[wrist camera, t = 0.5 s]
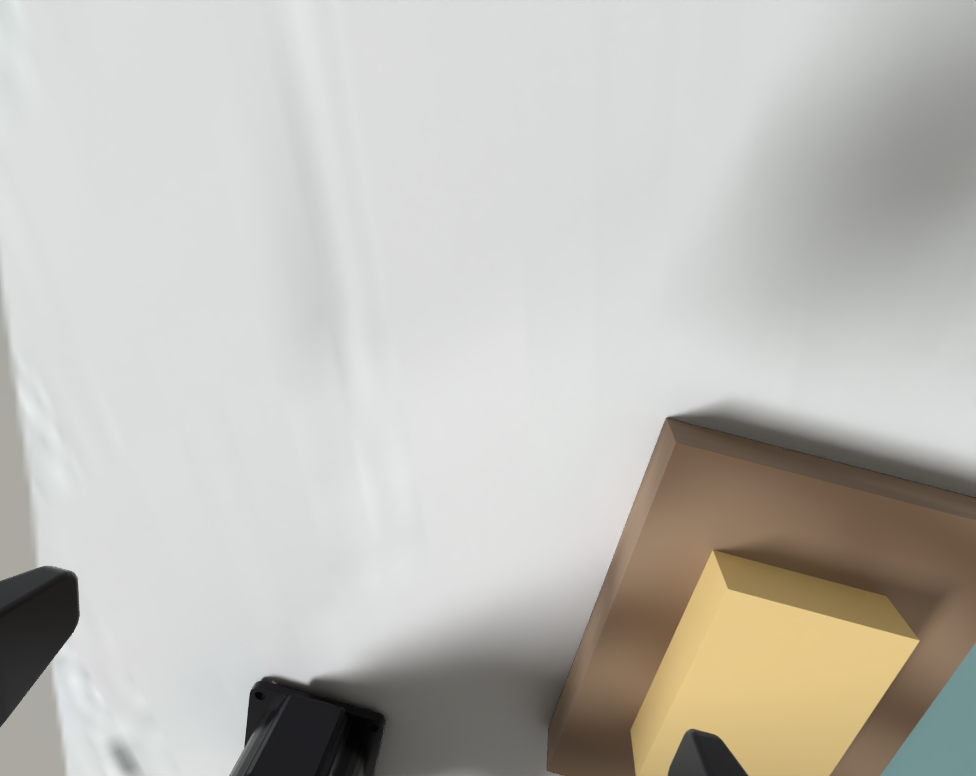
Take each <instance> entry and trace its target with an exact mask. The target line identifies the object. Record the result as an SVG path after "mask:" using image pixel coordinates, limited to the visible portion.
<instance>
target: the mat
mask: <svg viewBox="0 0 976 776" xmlns="http://www.w3.org/2000/svg"><path fill="white" fill-rule="evenodd" d="M880 776H976V643H975V644H974V646H973V647H972V648H971V650H970V651H969V653H968V654H967V655H966V657H965V658H964V660H963V661H962V662H961V664H960V665H959V667H958V668H957V669H956V671H955V672H954V673H953V675H952V676H951V678H950V679H949V680H948V682H947V683H946V685H945V686H944V687H943V689H942V690H941V692H940V693H939V694H938V696H937V697H936V699H935V700H934V701H933V703H932V704H931V705H930V707H929V708H928V710H927V711H926V712H925V714H924V715H923V717H922V718H921V719H920V721H919V722H918V724H917V725H916V726H915V728H914V729H913V731H912V732H911V733H910V735H909V736H908V737H907V739H906V740H905V742H904V743H903V744H902V746H901V747H900V749H899V750H898V751H897V753H896V754H895V756H894V757H893V758H892V760H891V761H890V763H889V764H888V765H887V767H886V768H885V769H884V771H883V772H882V774H881V775H880Z"/></svg>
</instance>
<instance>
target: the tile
mask: <svg viewBox="0 0 976 776" xmlns="http://www.w3.org/2000/svg"><path fill="white" fill-rule="evenodd" d="M919 641H920V640H919V639H918V637H917V636H916V635H915V633H914V632H913V631H912V629H911V628H910V627H909V626H908V624H907V623H906V622H905V620H904V619H903V618H902V616H901V615H900V614H899V612H898V611H897V610H896V608H895V607H894V606H893V604H892V603H891V602H890V600H889V599H888V598H887V596H884V595H880V594H876V593H873V592H869V591H865V590H861V589H858V588H854V587H850V586H846V585H843V584H839V583H835V582H831V581H827V580H824V579H820V578H816V577H812V576H809V575H805V574H801V573H797V572H794V571H790V570H786V569H782V568H779V567H775V566H771V565H767V564H764V563H760V562H756V561H752V560H749V559H745V558H741V557H737V556H734V555H730V554H726V553H722V552H719V551H715V550H712V553H711V555H710V557H709V559H708V561H707V563H706V566H705V568H704V570H703V572H702V574H701V577H700V579H699V581H698V583H697V585H696V588H695V590H694V592H693V594H692V596H691V599H690V601H689V603H688V605H687V607H686V609H685V612H684V614H683V616H682V618H681V620H680V623H679V625H678V627H677V629H676V631H675V634H674V636H673V638H672V640H671V642H670V645H669V647H668V649H667V651H666V653H665V655H664V658H663V660H662V662H661V664H660V666H659V669H658V671H657V673H656V675H655V677H654V680H653V682H652V684H651V686H650V688H649V691H648V693H647V695H646V697H645V699H644V701H643V704H642V706H641V708H640V710H639V712H638V715H637V717H636V719H635V721H634V723H633V726H632V728H631V730H630V731H631V739H632V748H633V757H634V765H635V774H636V776H668V771H669V767H670V765H671V762H672V760H673V758H674V756H675V754H676V751H677V749H678V747H679V745H680V742H681V740H682V738H683V736H684V734H685V732H686V731H687V730H689V729H696V730H700V731H704V732H708V733H712V734H715V735H717V736H718V737H720V738H721V739H722V740H723V742H724V743H725V744H726V746H727V747H728V748H729V750H730V751H731V752H732V754H733V755H734V756H735V758H736V759H737V760H738V762H739V763H740V764H741V766H742V767H743V769H744V770H745V771H746V773H747V774H748V775H749V776H830V774H831V773H832V771H833V770H834V768H835V767H836V765H837V764H838V762H839V761H840V759H841V758H842V756H843V755H844V753H845V752H846V750H847V749H848V747H849V746H850V744H851V743H852V741H853V740H854V738H855V737H856V735H857V734H858V733H859V731H860V730H861V728H862V727H863V725H864V724H865V722H866V721H867V719H868V718H869V716H870V715H871V713H872V712H873V710H874V709H875V707H876V706H877V704H878V703H879V701H880V700H881V698H882V697H883V695H884V694H885V692H886V691H887V689H888V688H889V686H890V685H891V683H892V682H893V680H894V679H895V677H896V676H897V674H898V673H899V671H900V670H901V668H902V667H903V665H904V664H905V662H906V661H907V659H908V658H909V656H910V655H911V653H912V652H913V650H914V649H915V647H916V646H917V644H918V643H919Z"/></svg>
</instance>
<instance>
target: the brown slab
mask: <svg viewBox="0 0 976 776" xmlns="http://www.w3.org/2000/svg"><path fill="white" fill-rule="evenodd" d="M712 550H715V551H719V552H722V553H726V554H730V555H734V556H737V557H741V558H745V559H749V560H752V561H756V562H760V563H764V564H767V565H771V566H775V567H779V568H782V569H786V570H790V571H794V572H797V573H801V574H805V575H809V576H812V577H816V578H820V579H824V580H827V581H831V582H835V583H839V584H843V585H846V586H850V587H854V588H858V589H861V590H865V591H869V592H873V593H876V594H880V595H884V596H887V598H888V599H889V600H890V602H891V603H892V604H893V606H894V607H895V608H896V610H897V611H898V612H899V614H900V615H901V616H902V618H903V619H904V620H905V622H906V623H907V624H908V626H909V627H910V628H911V629H912V631H913V632H914V633H915V635H916V636H917V637H918V639H919V640H920V641H919V643H918V644H917V646H916V647H915V649H914V650H913V652H912V653H911V655H910V656H909V658H908V659H907V661H906V662H905V664H904V665H903V667H902V668H901V670H900V671H899V673H898V674H897V676H896V677H895V679H894V680H893V682H892V683H891V685H890V686H889V688H888V689H887V691H886V692H885V694H884V695H883V697H882V698H881V700H880V701H879V703H878V704H877V706H876V707H875V709H874V710H873V712H872V713H871V715H870V716H869V718H868V719H867V721H866V722H865V724H864V725H863V727H862V728H861V730H860V731H859V733H858V734H857V735H856V737H855V738H854V740H853V741H852V743H851V744H850V746H849V747H848V749H847V750H846V752H845V753H844V755H843V756H842V758H841V759H840V761H839V762H838V764H837V765H836V767H835V768H834V770H833V771H832V773H831V774H830V776H880V775H881V774H882V772H883V771H884V769H885V768H886V767H887V765H888V764H889V763H890V761H891V760H892V758H893V757H894V756H895V754H896V753H897V751H898V750H899V749H900V747H901V746H902V744H903V743H904V742H905V740H906V739H907V737H908V736H909V735H910V733H911V732H912V731H913V729H914V728H915V726H916V725H917V724H918V722H919V721H920V719H921V718H922V717H923V715H924V714H925V712H926V711H927V710H928V708H929V707H930V705H931V704H932V703H933V701H934V700H935V699H936V697H937V696H938V694H939V693H940V692H941V690H942V689H943V687H944V686H945V685H946V683H947V682H948V680H949V679H950V678H951V676H952V675H953V673H954V672H955V671H956V669H957V668H958V667H959V665H960V664H961V662H962V661H963V660H964V658H965V657H966V655H967V654H968V653H969V651H970V650H971V648H972V647H973V646H974V644H975V643H976V498H973V497H970V496H966V495H962V494H958V493H954V492H950V491H946V490H943V489H939V488H935V487H931V486H927V485H923V484H919V483H916V482H912V481H908V480H904V479H900V478H896V477H892V476H889V475H885V474H881V473H877V472H873V471H869V470H865V469H862V468H858V467H854V466H850V465H846V464H842V463H838V462H835V461H831V460H827V459H823V458H819V457H815V456H812V455H808V454H804V453H800V452H796V451H792V450H788V449H785V448H781V447H777V446H773V445H769V444H765V443H761V442H758V441H754V440H750V439H746V438H742V437H738V436H734V435H731V434H727V433H723V432H719V431H715V430H711V429H707V428H704V427H700V426H696V425H692V424H688V423H684V422H680V421H677V420H673V419H669V418H666V419H665V422H664V425H663V427H662V430H661V433H660V435H659V438H658V440H657V443H656V446H655V448H654V451H653V454H652V456H651V459H650V462H649V464H648V467H647V469H646V472H645V475H644V477H643V480H642V483H641V485H640V488H639V491H638V493H637V496H636V498H635V501H634V504H633V506H632V509H631V512H630V514H629V517H628V519H627V522H626V525H625V527H624V530H623V533H622V535H621V538H620V541H619V543H618V546H617V548H616V551H615V554H614V556H613V559H612V562H611V564H610V567H609V570H608V572H607V575H606V577H605V580H604V583H603V585H602V588H601V591H600V593H599V596H598V598H597V601H596V604H595V606H594V609H593V612H592V614H591V617H590V620H589V622H588V625H587V627H586V630H585V633H584V635H583V638H582V641H581V643H580V646H579V649H578V651H577V654H576V656H575V659H574V662H573V664H572V667H571V670H570V672H569V675H568V677H567V680H566V683H565V685H564V688H563V691H562V693H561V696H560V699H559V701H558V704H557V706H556V709H555V712H554V714H553V717H552V720H551V722H550V725H549V728H548V750H547V771H549V772H553V773H557V774H560V775H564V776H636V774H635V765H634V757H633V748H632V739H631V731H630V730H631V728H632V726H633V723H634V721H635V719H636V717H637V715H638V712H639V710H640V708H641V706H642V704H643V701H644V699H645V697H646V695H647V693H648V691H649V688H650V686H651V684H652V682H653V680H654V677H655V675H656V673H657V671H658V669H659V666H660V664H661V662H662V660H663V658H664V655H665V653H666V651H667V649H668V647H669V645H670V642H671V640H672V638H673V636H674V634H675V631H676V629H677V627H678V625H679V623H680V620H681V618H682V616H683V614H684V612H685V609H686V607H687V605H688V603H689V601H690V599H691V596H692V594H693V592H694V590H695V588H696V585H697V583H698V581H699V579H700V577H701V574H702V572H703V570H704V568H705V566H706V563H707V561H708V559H709V557H710V555H711V553H712Z"/></svg>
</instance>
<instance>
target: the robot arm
mask: <svg viewBox="0 0 976 776" xmlns="http://www.w3.org/2000/svg"><path fill="white" fill-rule="evenodd" d="M79 615H80V611H79V591H78V578H77V576H76V575H75V573H74V572H72V571H69V570H65V569H61V568H57V567H53V566H43V567H39V568H36V569H33V570H30V571H28V572H25V573H22V574H19V575H16V576H13V577H11V578H8V579H5V580H2V581H0V727H1V726H2V724H3V723H4V722H5V721H6V719H7V718H8V717H9V716H10V714H11V713H12V712H13V710H14V709H15V708H16V707H17V705H18V704H19V703H20V701H21V700H22V699H23V697H24V696H25V695H26V693H27V692H28V691H29V690H30V688H31V687H32V686H33V684H34V683H35V682H36V680H37V679H38V678H39V677H40V675H41V674H42V673H43V671H44V670H45V669H46V667H47V666H48V665H49V663H50V662H51V661H52V660H53V658H54V657H55V656H56V654H57V653H58V652H59V650H60V649H61V648H62V646H63V645H64V644H65V643H66V641H67V640H68V639H69V637H70V636H71V635H72V633H73V632H74V630H75V628H76V626H77V624H78V620H79ZM385 725H386V720H385V718H384V717H383V716H382V715H381V714H379V713H376V712H372V711H369V710H365V709H361V708H358V707H354V706H351V705H347V704H344V703H340V702H337V701H333V700H330V699H326V698H322V697H319V696H315V695H312V694H308V693H305V692H301V691H298V690H294V689H291V688H287V687H283V686H280V685H276V684H273V683H269V682H266V681H258V682H256V683H255V685H254V686H253V688H252V690H251V692H250V697H249V707H248V717H247V727H246V737H245V747H244V750H243V752H242V754H241V755H240V757H239V759H238V761H237V763H236V765H235V766H234V768H233V770H232V772H231V774H230V775H229V776H374V773H375V769H376V765H377V760H378V756H379V752H380V747H381V743H382V738H383V734H384V730H385ZM668 776H749V775H748V774H747V773H746V771H745V770H744V769H743V767H742V766H741V764H740V763H739V762H738V760H737V759H736V758H735V756H734V755H733V754H732V752H731V751H730V750H729V748H728V747H727V746H726V744H725V743H724V742H723V740H722V739H721V738H720V737H718V736H717V735H715V734H712V733H708V732H704V731H700V730H696V729H689V730H687V731H686V732H685V734H684V736H683V738H682V740H681V742H680V745H679V747H678V749H677V751H676V754H675V756H674V758H673V760H672V762H671V765H670V767H669V771H668Z"/></svg>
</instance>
